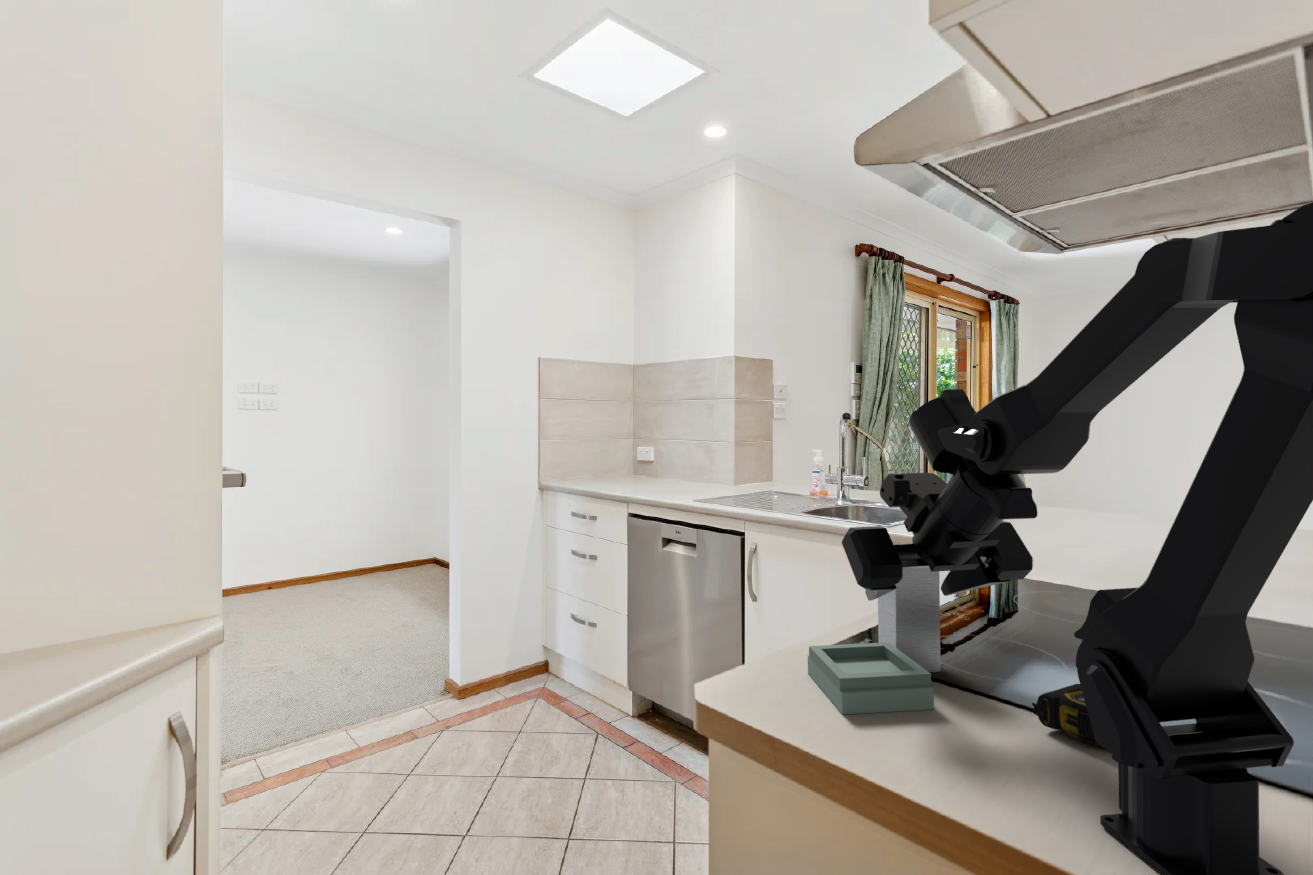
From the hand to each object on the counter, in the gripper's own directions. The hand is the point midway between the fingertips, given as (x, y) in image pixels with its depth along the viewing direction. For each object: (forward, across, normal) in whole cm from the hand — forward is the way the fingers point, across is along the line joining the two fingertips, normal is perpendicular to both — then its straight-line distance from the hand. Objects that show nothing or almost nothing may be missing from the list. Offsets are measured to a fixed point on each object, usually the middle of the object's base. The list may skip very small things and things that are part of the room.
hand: (906, 594), depth 71 cm
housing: (+5, 0, +6) cm, 8 cm away
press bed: (+1, +8, +10) cm, 13 cm away
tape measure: (-7, -6, +18) cm, 21 cm away
